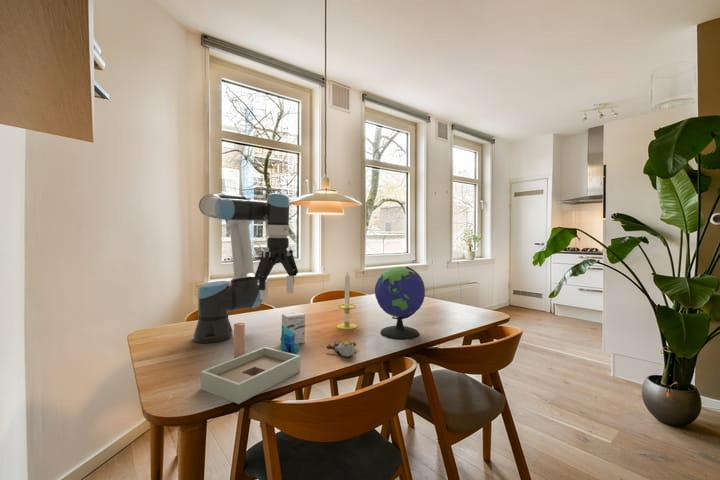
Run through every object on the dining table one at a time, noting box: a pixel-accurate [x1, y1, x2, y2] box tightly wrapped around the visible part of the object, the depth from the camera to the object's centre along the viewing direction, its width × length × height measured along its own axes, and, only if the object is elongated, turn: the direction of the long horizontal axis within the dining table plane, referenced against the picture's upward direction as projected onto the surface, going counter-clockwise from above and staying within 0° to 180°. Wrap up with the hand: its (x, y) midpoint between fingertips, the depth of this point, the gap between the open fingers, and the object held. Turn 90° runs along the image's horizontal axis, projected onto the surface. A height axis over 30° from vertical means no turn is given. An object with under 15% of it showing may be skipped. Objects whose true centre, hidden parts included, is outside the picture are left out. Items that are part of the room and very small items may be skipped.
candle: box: [336, 271, 358, 331], centre depth 156 cm, size 10×10×27 cm
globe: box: [374, 266, 426, 341], centre depth 146 cm, size 22×22×30 cm
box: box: [200, 346, 301, 405], centre depth 99 cm, size 16×24×5 cm, turn 150°
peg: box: [233, 322, 246, 359], centre depth 112 cm, size 4×4×13 cm
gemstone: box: [280, 325, 300, 355], centre depth 115 cm, size 7×9×12 cm
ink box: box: [280, 311, 306, 345], centre depth 133 cm, size 9×5×12 cm, turn 123°
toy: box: [326, 339, 358, 358], centre depth 123 cm, size 12×5×15 cm
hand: (277, 296), depth 118 cm, fingers open, 13 cm apart
